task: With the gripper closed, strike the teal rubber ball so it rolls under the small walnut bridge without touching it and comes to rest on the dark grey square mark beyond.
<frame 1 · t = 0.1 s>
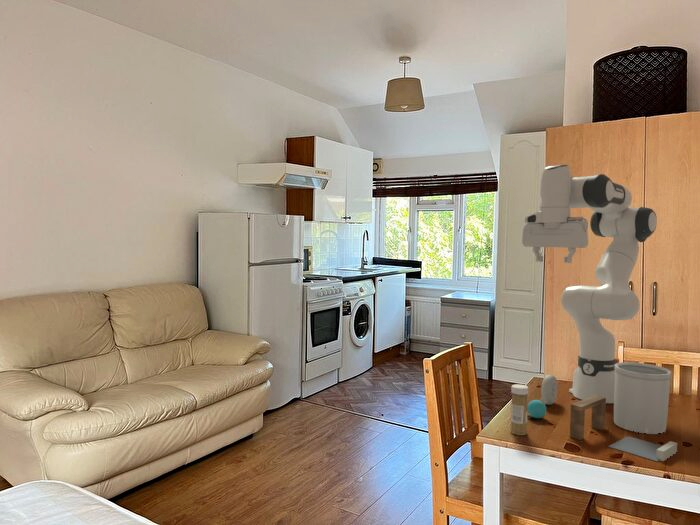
hand: (553, 262, 164), 48 cm above the table, tool pointing down, fingers open, 8 cm apart
stopper wall: (666, 455, 135), on the table
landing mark: (641, 448, 140), on the table
sprinkles bottle: (518, 433, 150), on the table
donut: (549, 404, 177), on the table
utensil holder: (640, 427, 157), on the table
ball: (536, 408, 163), on the table
bridge: (587, 432, 151), on the table
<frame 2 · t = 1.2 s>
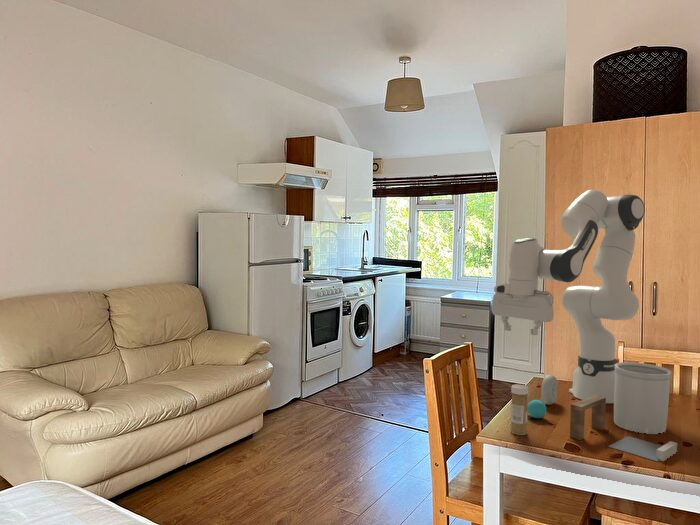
hand: (520, 332, 168), 25 cm above the table, tool pointing down, fingers open, 8 cm apart
nothing on the table moved.
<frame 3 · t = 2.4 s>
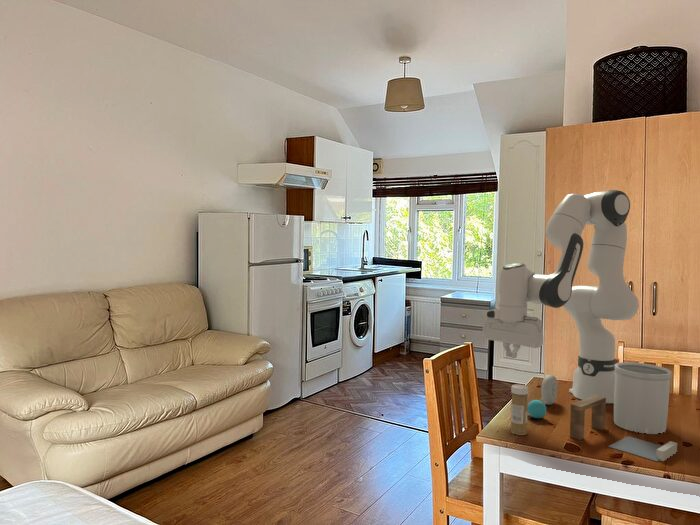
hand: (511, 357, 170), 17 cm above the table, tool pointing down, fingers closed
nothing on the table moved.
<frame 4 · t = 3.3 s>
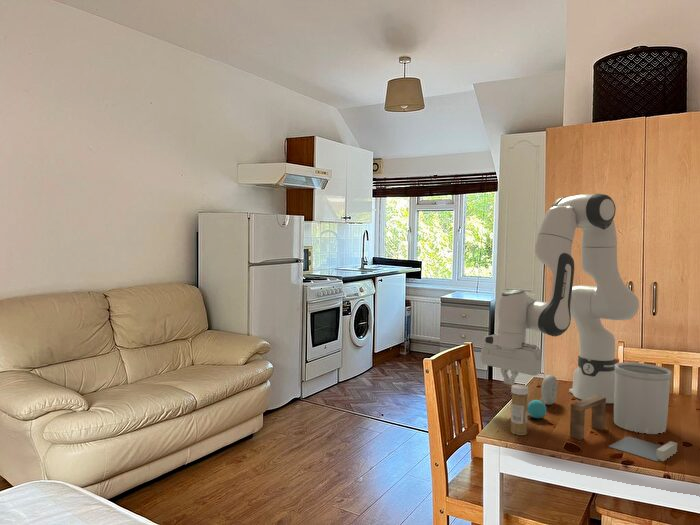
hand: (509, 383, 170), 9 cm above the table, tool pointing down, fingers closed
nothing on the table moved.
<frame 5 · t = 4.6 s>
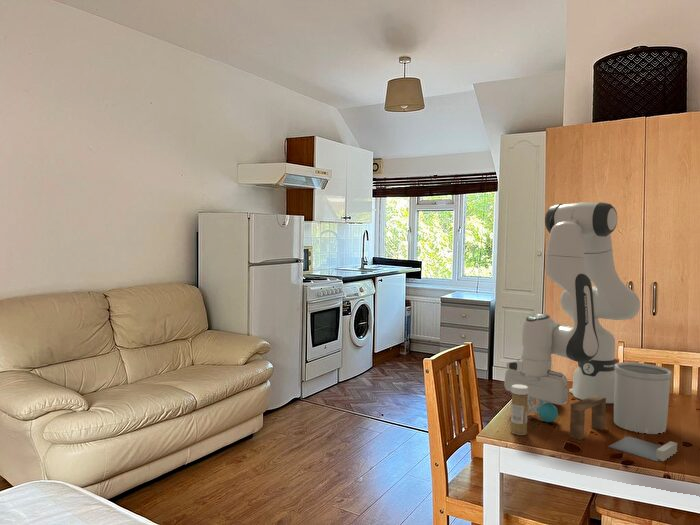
hand: (534, 411, 164), 2 cm above the table, tool pointing down, fingers closed
ball: (548, 412, 160), on the table
everything else where it was.
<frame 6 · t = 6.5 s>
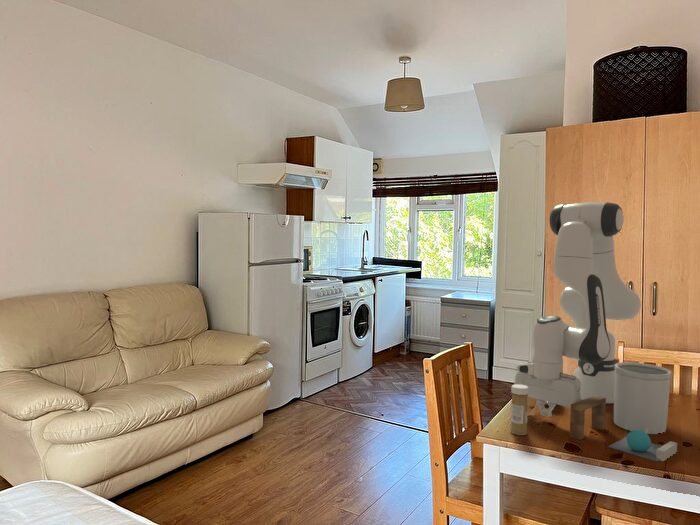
hand: (545, 415, 161), 2 cm above the table, tool pointing down, fingers closed
ball: (638, 440, 138), on the table
everything else where it was.
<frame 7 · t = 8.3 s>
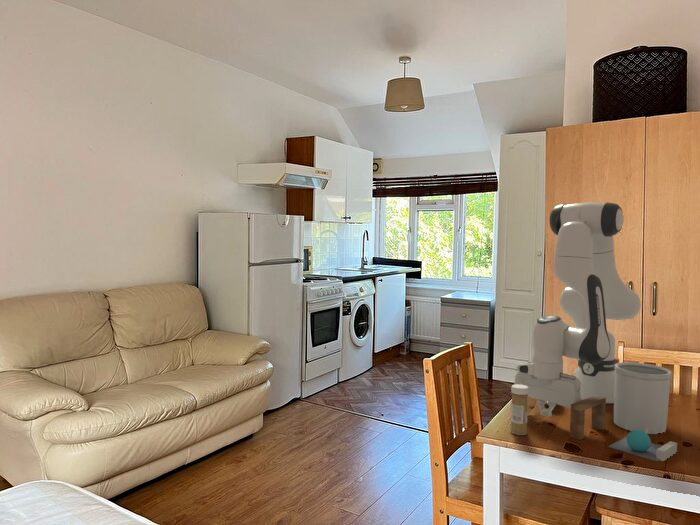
hand: (545, 415, 161), 2 cm above the table, tool pointing down, fingers closed
nothing on the table moved.
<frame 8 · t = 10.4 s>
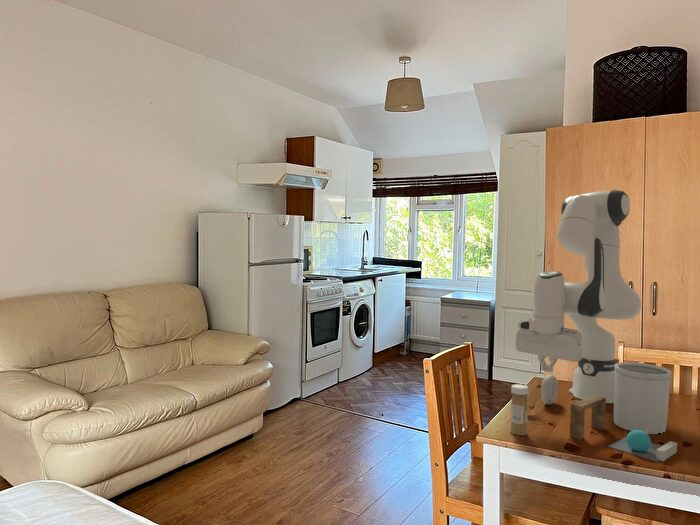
hand: (547, 371, 160), 15 cm above the table, tool pointing down, fingers closed
nothing on the table moved.
at the end: ball 2.6 cm from the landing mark (horizontally); ball never touched bridge; ball at rest at the end (0.0 cm/s) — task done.
